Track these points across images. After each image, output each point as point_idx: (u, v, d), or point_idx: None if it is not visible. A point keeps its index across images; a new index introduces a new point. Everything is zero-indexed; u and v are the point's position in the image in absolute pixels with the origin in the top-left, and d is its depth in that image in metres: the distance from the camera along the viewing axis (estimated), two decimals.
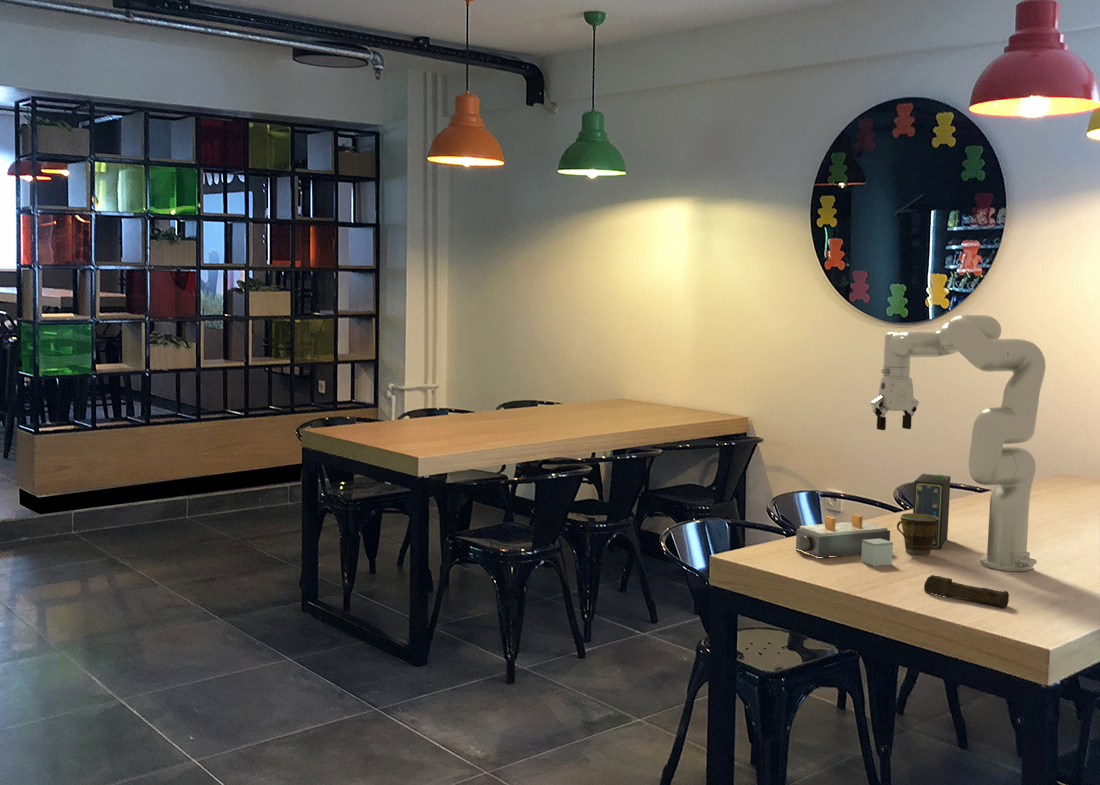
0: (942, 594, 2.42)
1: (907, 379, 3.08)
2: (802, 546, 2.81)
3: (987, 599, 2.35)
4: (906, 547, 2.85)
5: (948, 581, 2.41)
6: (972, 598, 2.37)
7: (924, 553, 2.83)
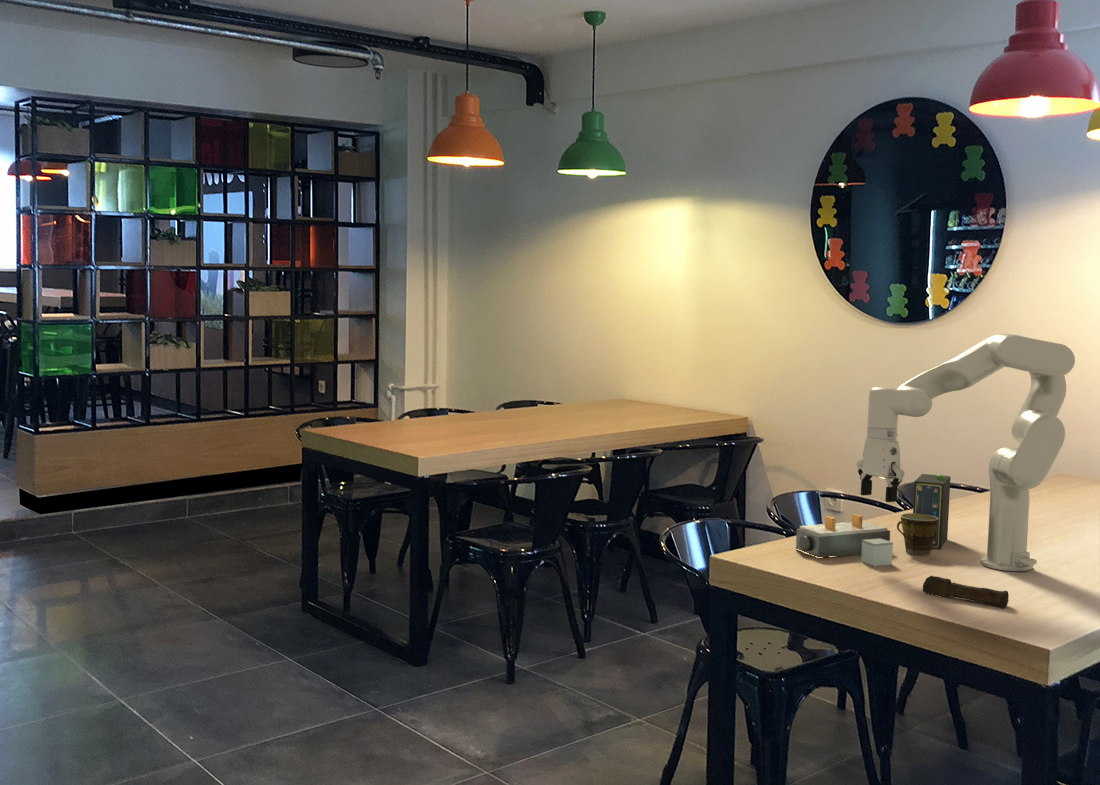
0: (941, 595, 2.41)
1: None
2: (802, 546, 2.81)
3: (987, 599, 2.35)
4: (906, 547, 2.85)
5: (947, 581, 2.41)
6: (972, 598, 2.37)
7: (924, 553, 2.83)
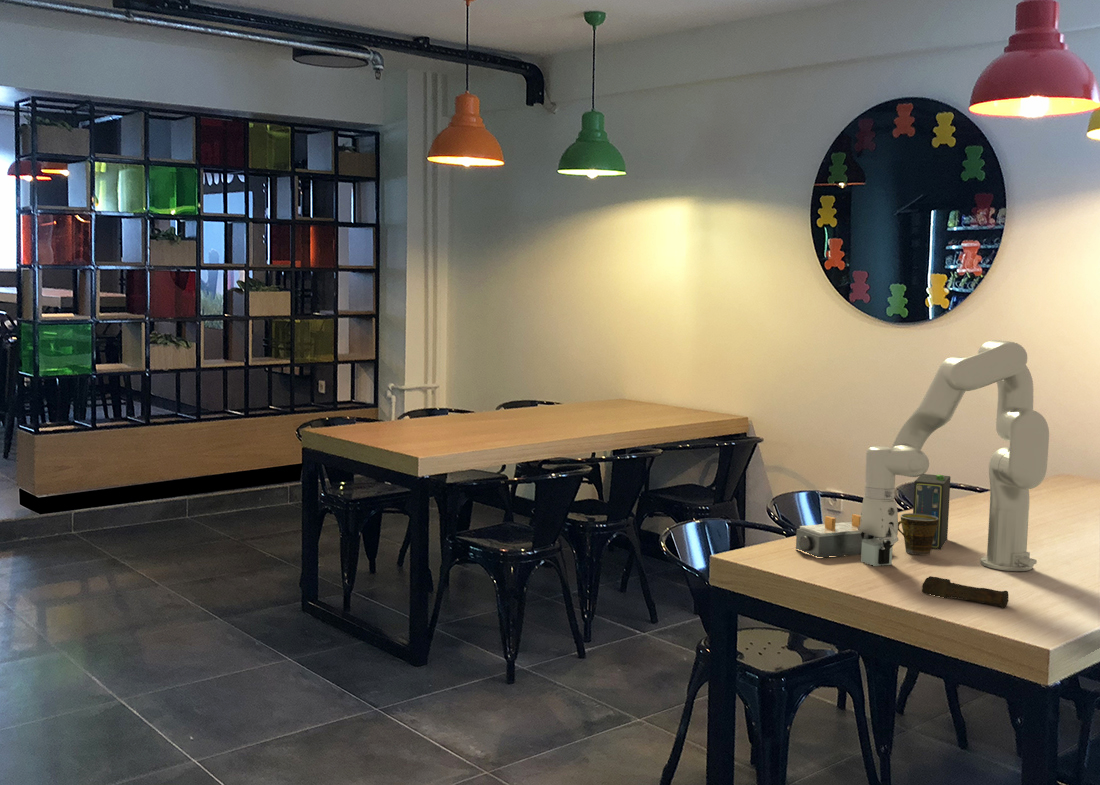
0: (941, 595, 2.41)
1: None
2: (802, 546, 2.81)
3: (987, 599, 2.35)
4: (906, 547, 2.85)
5: (947, 582, 2.40)
6: (972, 598, 2.37)
7: (924, 553, 2.83)
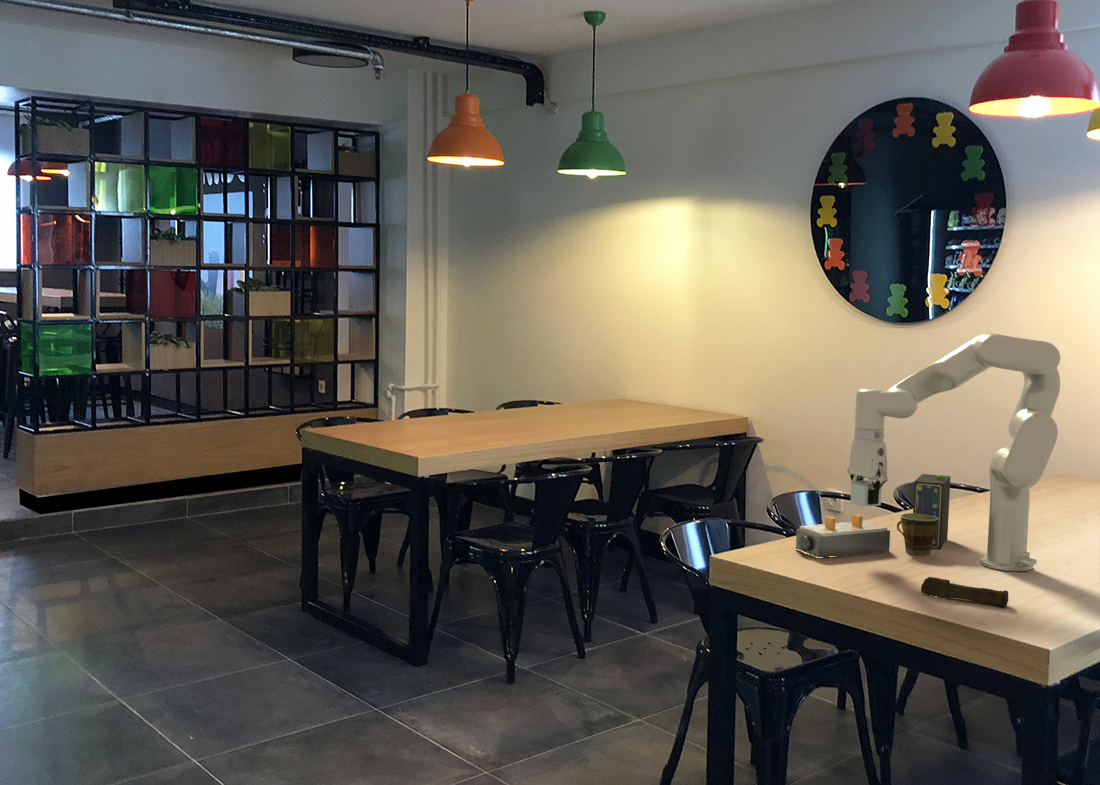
0: (941, 596, 2.41)
1: None
2: (802, 546, 2.81)
3: (987, 599, 2.35)
4: (906, 547, 2.85)
5: (947, 582, 2.40)
6: (972, 599, 2.37)
7: (924, 553, 2.83)
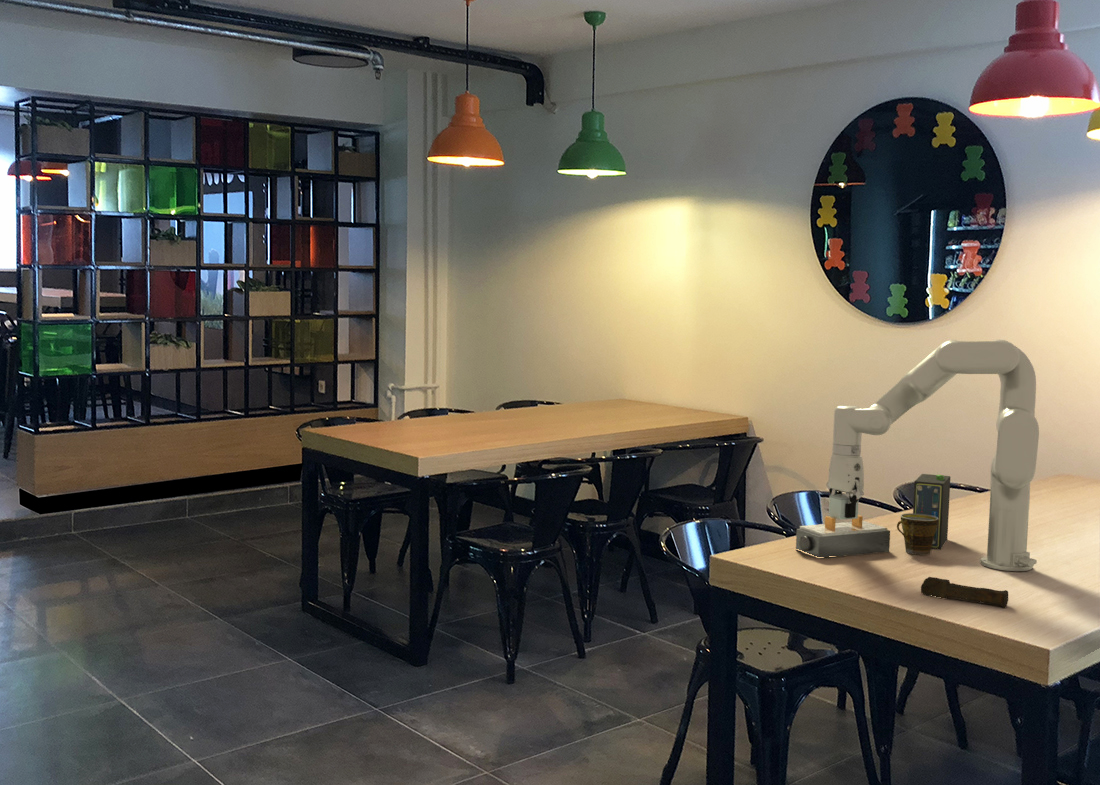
0: (941, 596, 2.40)
1: None
2: (802, 546, 2.81)
3: (988, 599, 2.35)
4: (906, 547, 2.85)
5: (947, 582, 2.40)
6: (972, 599, 2.37)
7: (924, 553, 2.83)
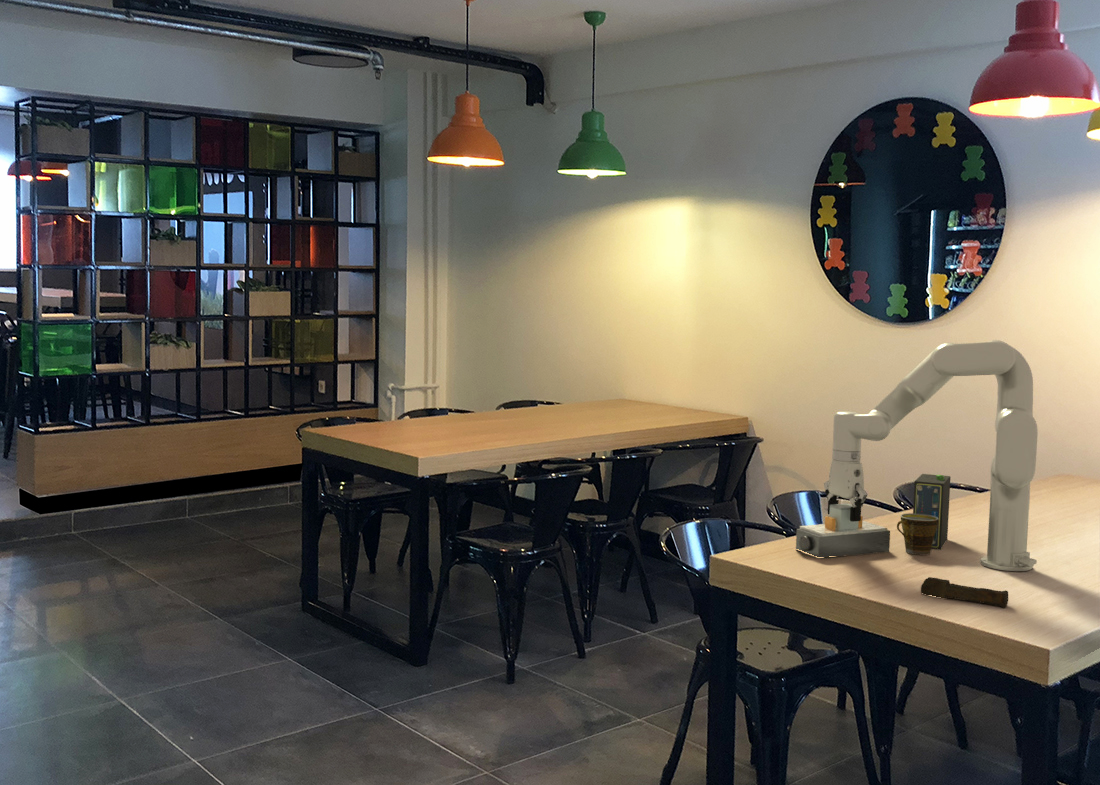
0: (941, 596, 2.40)
1: None
2: (802, 546, 2.81)
3: (988, 599, 2.35)
4: (906, 547, 2.85)
5: (947, 583, 2.40)
6: (972, 599, 2.37)
7: (924, 553, 2.83)
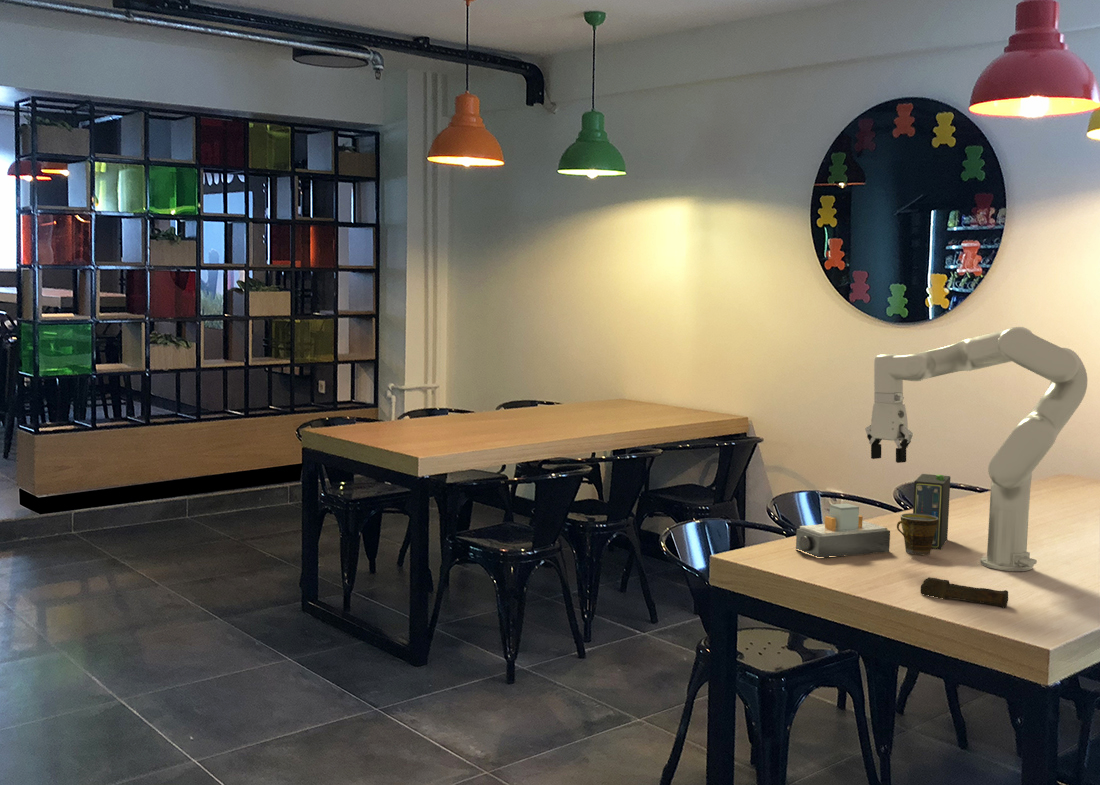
0: (941, 596, 2.40)
1: None
2: (802, 546, 2.81)
3: (988, 599, 2.35)
4: (906, 547, 2.85)
5: (947, 583, 2.40)
6: (972, 599, 2.37)
7: (924, 553, 2.83)
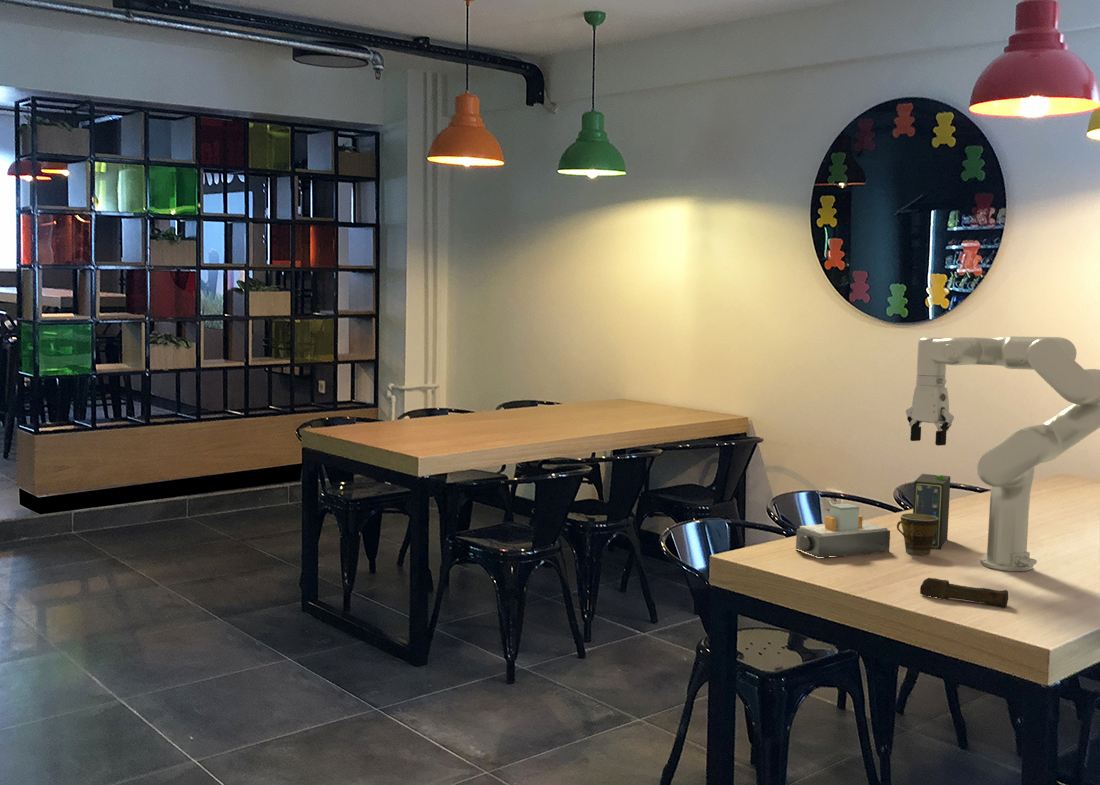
0: (941, 596, 2.40)
1: None
2: (802, 546, 2.81)
3: (988, 599, 2.35)
4: (906, 547, 2.85)
5: (947, 583, 2.39)
6: (973, 599, 2.36)
7: (924, 553, 2.83)
